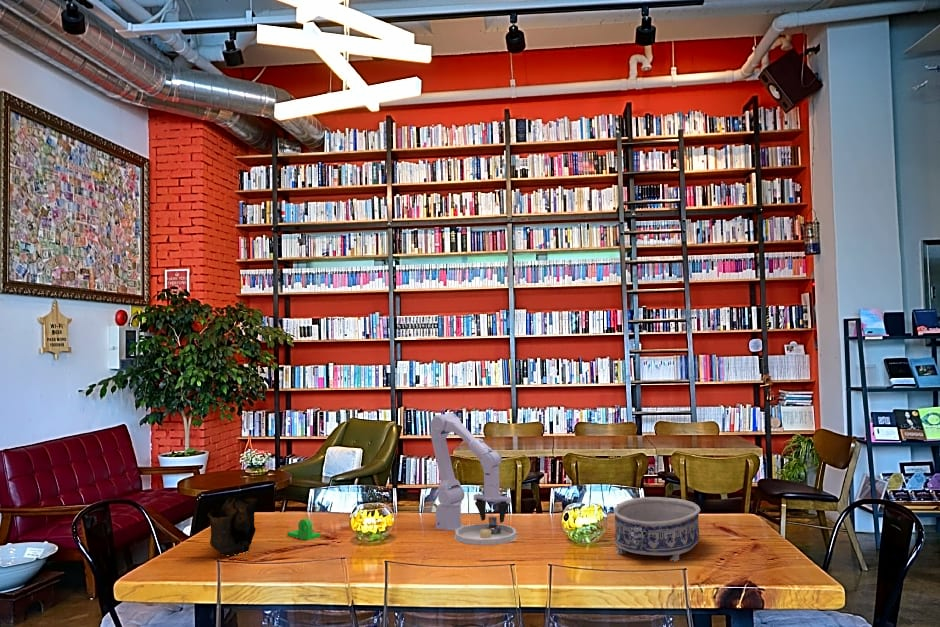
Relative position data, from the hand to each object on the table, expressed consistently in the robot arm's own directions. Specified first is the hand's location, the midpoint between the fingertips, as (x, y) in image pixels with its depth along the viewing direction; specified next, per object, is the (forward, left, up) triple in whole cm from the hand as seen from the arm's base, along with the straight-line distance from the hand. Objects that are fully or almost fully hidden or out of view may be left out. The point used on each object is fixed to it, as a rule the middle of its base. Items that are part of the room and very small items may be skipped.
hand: (492, 521), depth 270 cm
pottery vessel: (-72, -57, -5) cm, 92 cm away
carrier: (0, -6, -5) cm, 8 cm away
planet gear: (0, 0, -4) cm, 4 cm away
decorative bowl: (+61, +3, -5) cm, 61 cm away
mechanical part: (-63, -31, -5) cm, 71 cm away
